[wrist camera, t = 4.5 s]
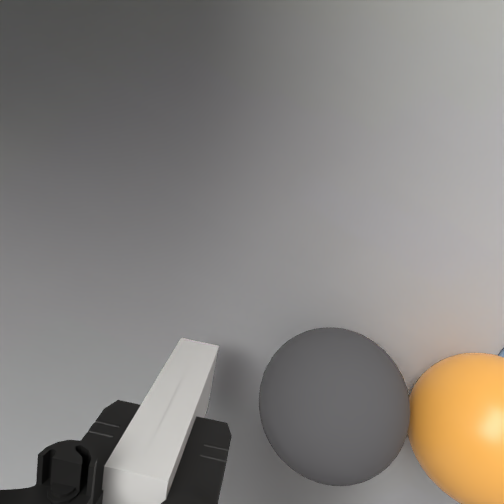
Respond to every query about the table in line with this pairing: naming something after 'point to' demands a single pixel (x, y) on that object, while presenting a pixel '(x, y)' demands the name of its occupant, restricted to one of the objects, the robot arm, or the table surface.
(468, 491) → the object ball
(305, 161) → the table surface
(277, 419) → the dark gray ball
